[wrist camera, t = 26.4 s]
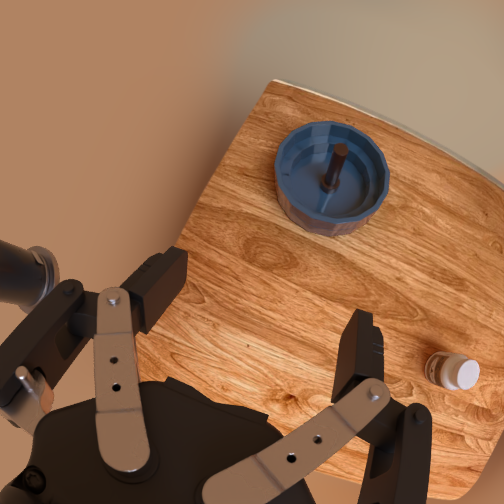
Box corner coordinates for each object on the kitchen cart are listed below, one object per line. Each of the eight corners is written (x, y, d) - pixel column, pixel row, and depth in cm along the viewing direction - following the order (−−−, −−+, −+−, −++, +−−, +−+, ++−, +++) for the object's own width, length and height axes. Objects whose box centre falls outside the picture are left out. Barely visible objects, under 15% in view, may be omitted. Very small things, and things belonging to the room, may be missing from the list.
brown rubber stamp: (322, 195, 37) (333, 159, 29) (318, 178, 38) (327, 140, 29) (339, 193, 37) (355, 157, 28) (335, 176, 38) (348, 138, 29)
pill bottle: (424, 353, 32) (455, 358, 25) (450, 349, 32) (483, 352, 24) (422, 386, 31) (452, 397, 24) (449, 380, 31) (481, 389, 23)
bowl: (285, 244, 37) (286, 231, 31) (268, 150, 40) (266, 127, 35) (387, 229, 36) (402, 215, 31) (361, 140, 39) (370, 118, 34)
